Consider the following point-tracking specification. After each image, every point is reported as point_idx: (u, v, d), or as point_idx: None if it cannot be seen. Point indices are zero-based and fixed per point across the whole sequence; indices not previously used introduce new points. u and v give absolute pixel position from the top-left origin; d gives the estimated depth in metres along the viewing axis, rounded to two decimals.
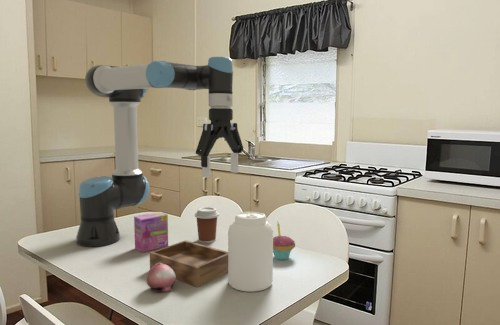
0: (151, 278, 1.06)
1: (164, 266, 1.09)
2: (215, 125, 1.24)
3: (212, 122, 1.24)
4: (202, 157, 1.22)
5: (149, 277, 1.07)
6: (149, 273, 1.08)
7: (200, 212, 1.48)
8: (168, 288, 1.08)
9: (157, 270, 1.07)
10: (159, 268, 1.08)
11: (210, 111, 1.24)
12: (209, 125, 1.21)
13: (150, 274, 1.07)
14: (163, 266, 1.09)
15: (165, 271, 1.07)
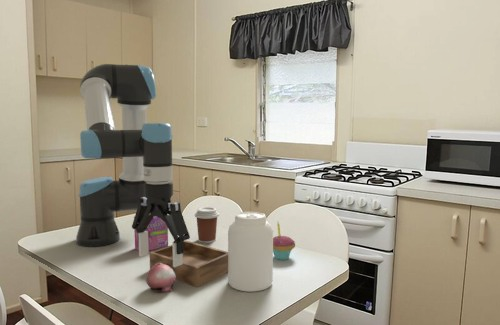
0: (151, 278, 1.06)
1: (164, 266, 1.09)
2: (146, 201, 1.08)
3: None
4: None
5: (149, 278, 1.07)
6: (149, 273, 1.08)
7: (200, 212, 1.48)
8: (168, 288, 1.08)
9: (157, 270, 1.07)
10: (159, 268, 1.08)
11: None
12: (139, 199, 1.10)
13: (150, 274, 1.07)
14: (163, 266, 1.09)
15: (164, 271, 1.07)
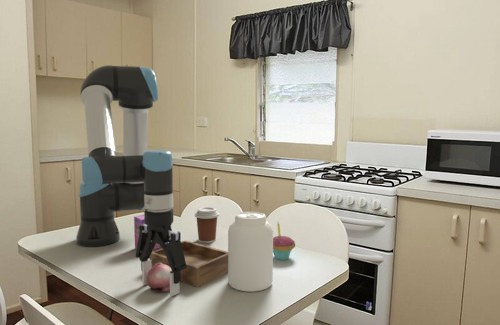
0: (151, 278, 1.06)
1: (164, 266, 1.09)
2: (147, 227, 1.09)
3: None
4: None
5: (149, 278, 1.07)
6: (149, 273, 1.08)
7: (200, 212, 1.48)
8: (168, 288, 1.08)
9: (156, 270, 1.07)
10: (159, 268, 1.08)
11: None
12: (140, 227, 1.11)
13: (150, 274, 1.07)
14: (163, 266, 1.09)
15: (164, 271, 1.07)
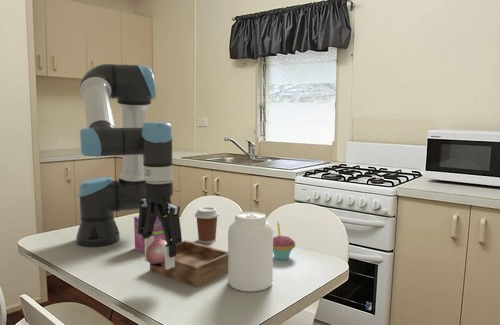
0: (151, 253, 1.06)
1: (164, 242, 1.08)
2: (146, 199, 1.08)
3: None
4: None
5: (148, 253, 1.07)
6: (148, 249, 1.07)
7: (200, 212, 1.48)
8: None
9: (156, 245, 1.07)
10: (159, 244, 1.07)
11: None
12: (139, 201, 1.10)
13: (149, 250, 1.07)
14: (163, 242, 1.08)
15: (164, 247, 1.07)
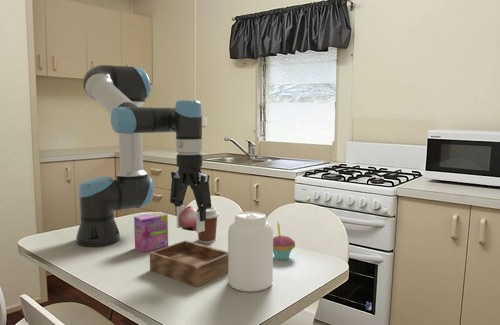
0: (183, 218, 1.18)
1: (194, 208, 1.20)
2: (178, 171, 1.21)
3: None
4: None
5: (181, 218, 1.19)
6: (181, 214, 1.19)
7: None
8: None
9: (188, 211, 1.19)
10: (190, 210, 1.19)
11: None
12: (171, 173, 1.22)
13: (182, 215, 1.19)
14: (193, 208, 1.20)
15: (195, 212, 1.19)
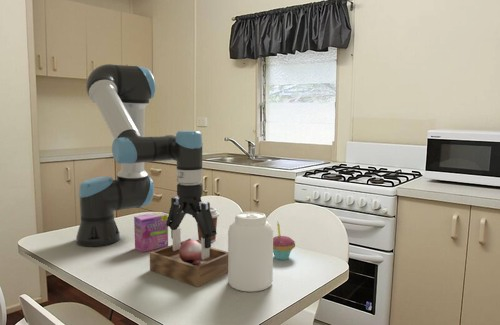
0: (184, 251, 1.19)
1: (194, 241, 1.22)
2: (179, 199, 1.22)
3: None
4: None
5: (181, 251, 1.20)
6: (181, 247, 1.21)
7: None
8: (198, 261, 1.21)
9: (188, 244, 1.20)
10: (190, 243, 1.21)
11: None
12: (171, 199, 1.23)
13: (182, 248, 1.20)
14: (194, 241, 1.22)
15: (195, 246, 1.20)
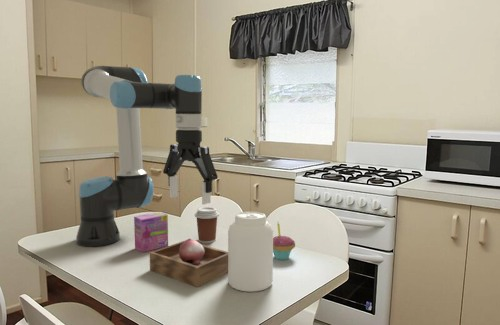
0: (184, 251, 1.19)
1: (194, 241, 1.22)
2: (177, 146, 1.20)
3: None
4: None
5: (181, 251, 1.20)
6: (181, 247, 1.21)
7: (200, 212, 1.48)
8: (198, 261, 1.21)
9: (188, 244, 1.20)
10: (190, 243, 1.21)
11: None
12: (170, 146, 1.22)
13: (182, 248, 1.20)
14: (194, 241, 1.22)
15: (195, 246, 1.20)
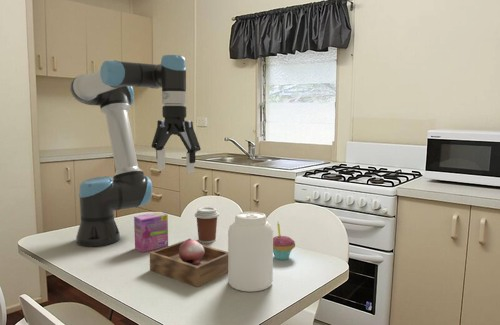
0: (184, 251, 1.19)
1: (194, 241, 1.22)
2: (164, 122, 1.30)
3: None
4: None
5: (181, 251, 1.20)
6: (181, 247, 1.21)
7: (200, 212, 1.48)
8: (198, 261, 1.21)
9: (188, 244, 1.20)
10: (190, 243, 1.21)
11: None
12: (158, 121, 1.32)
13: (182, 248, 1.20)
14: (193, 241, 1.22)
15: (195, 246, 1.20)
